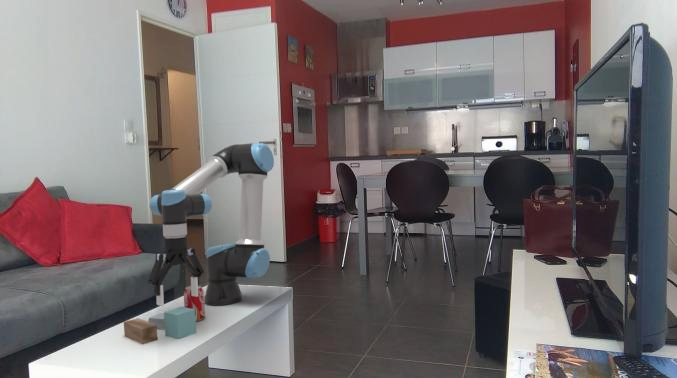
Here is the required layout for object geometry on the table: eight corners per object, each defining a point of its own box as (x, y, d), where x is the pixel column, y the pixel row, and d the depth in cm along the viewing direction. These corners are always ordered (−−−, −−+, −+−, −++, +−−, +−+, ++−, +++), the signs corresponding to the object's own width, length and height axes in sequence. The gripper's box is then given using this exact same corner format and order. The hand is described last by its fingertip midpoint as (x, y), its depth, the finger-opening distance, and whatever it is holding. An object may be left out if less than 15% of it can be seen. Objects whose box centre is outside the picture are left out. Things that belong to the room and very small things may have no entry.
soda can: (199, 322, 181) (197, 289, 180) (181, 322, 182) (179, 289, 182) (208, 317, 188) (206, 284, 187) (191, 316, 189) (189, 284, 189)
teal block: (183, 329, 174) (181, 306, 174) (196, 333, 170) (194, 309, 170) (165, 335, 169) (164, 312, 168) (178, 339, 164) (177, 315, 164)
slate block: (161, 323, 183) (161, 312, 182) (175, 325, 180) (174, 314, 180) (149, 329, 177) (149, 317, 177) (163, 330, 175) (162, 319, 174)
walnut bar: (139, 332, 174) (138, 318, 173) (157, 340, 165) (156, 325, 165) (124, 336, 170) (123, 321, 170) (142, 344, 161) (141, 329, 161)
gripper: (198, 231, 180) (201, 291, 181) (134, 240, 160) (137, 307, 161) (212, 232, 176) (215, 293, 176) (148, 242, 155) (151, 311, 156)
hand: (178, 300), depth 168 cm, fingers open, 13 cm apart
